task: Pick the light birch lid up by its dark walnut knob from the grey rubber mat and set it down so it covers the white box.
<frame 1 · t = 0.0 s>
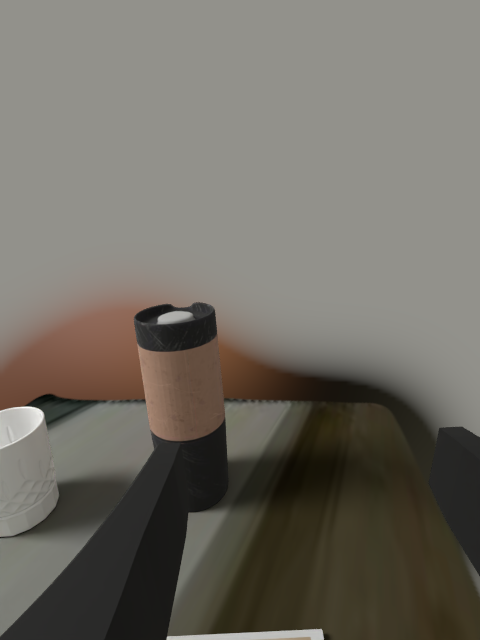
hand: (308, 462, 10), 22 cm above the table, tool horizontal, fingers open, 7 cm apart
travel mug: (196, 487, 38), on the table
white cup: (24, 511, 37), on the table
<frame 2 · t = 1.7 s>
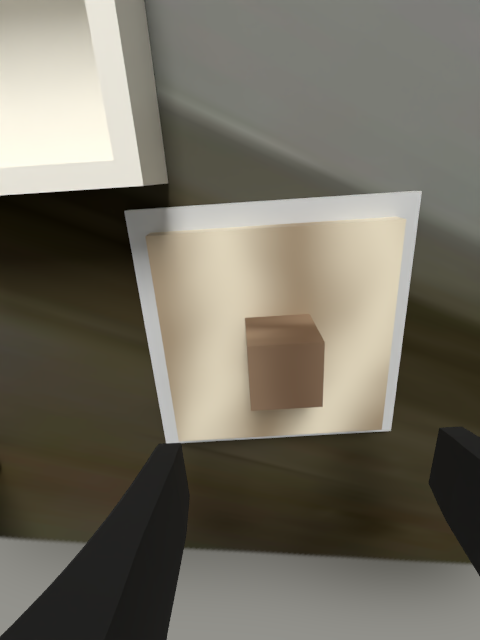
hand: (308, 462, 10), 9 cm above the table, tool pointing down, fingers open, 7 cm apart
mat: (274, 331, 18), on the table
lid: (275, 335, 18), resting on mat
white box: (38, 67, 14), on the table
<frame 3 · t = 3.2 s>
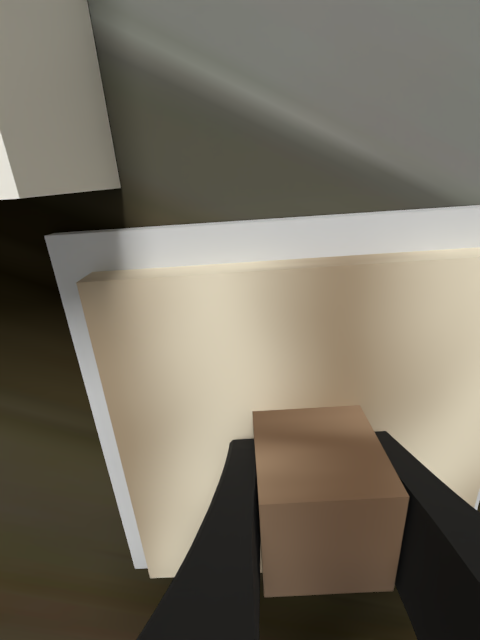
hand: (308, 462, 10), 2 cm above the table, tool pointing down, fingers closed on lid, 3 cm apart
mat: (297, 417, 12), on the table
lid: (299, 427, 11), resting on mat, touching gripper
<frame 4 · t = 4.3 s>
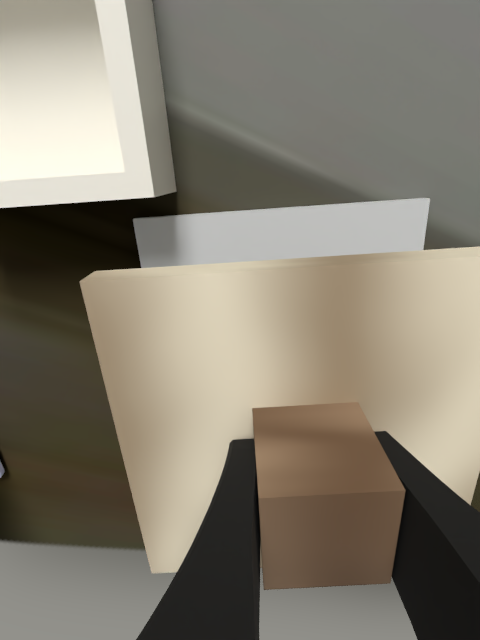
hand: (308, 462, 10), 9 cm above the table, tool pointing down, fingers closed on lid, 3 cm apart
mat: (281, 338, 18), on the table
lid: (298, 424, 11), point 7 cm above the table, touching gripper
white box: (47, 78, 14), on the table
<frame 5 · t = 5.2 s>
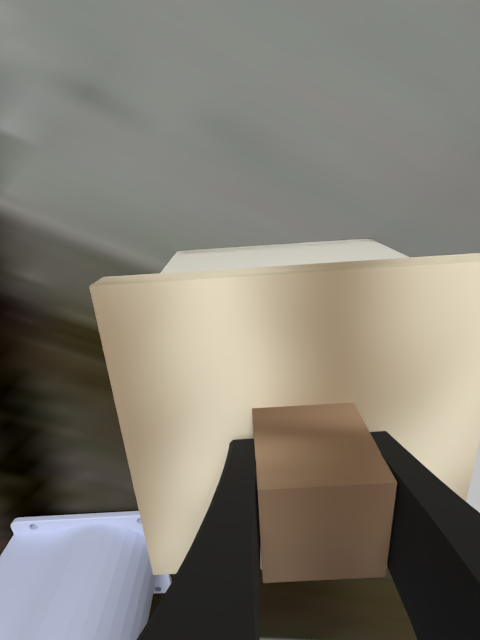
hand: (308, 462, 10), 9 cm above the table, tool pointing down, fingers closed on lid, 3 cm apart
mat: (418, 492, 22), on the table
lid: (297, 425, 12), point 7 cm above the table, touching gripper
white box: (275, 332, 18), on the table
when the fingers open (7 cm above the table, at t = 5.8 s): lid stays where it is, resting on white box.
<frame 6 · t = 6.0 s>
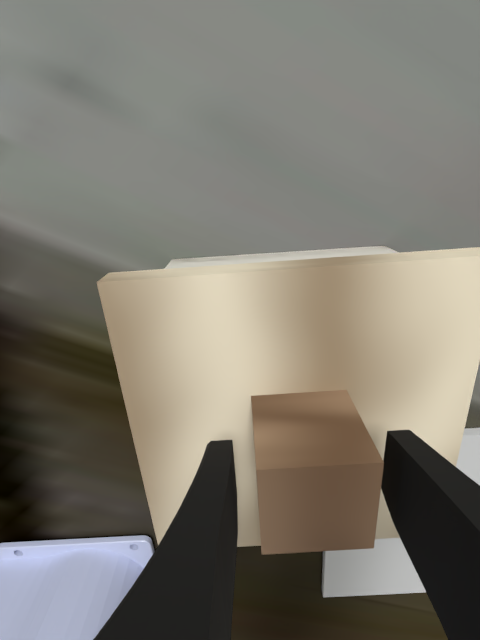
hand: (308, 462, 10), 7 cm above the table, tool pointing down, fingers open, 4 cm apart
mat: (432, 516, 21), on the table
lid: (294, 412, 12), point 4 cm above the table, touching white box
white box: (279, 347, 16), on the table
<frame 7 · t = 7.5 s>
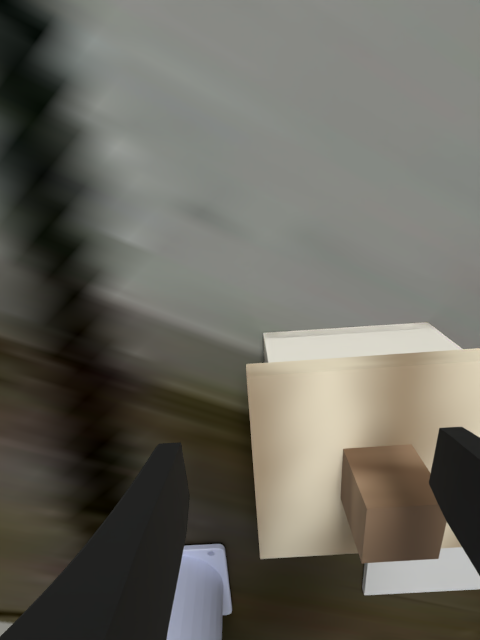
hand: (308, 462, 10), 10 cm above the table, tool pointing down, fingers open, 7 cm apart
mat: (457, 527, 25), on the table
lid: (367, 456, 17), point 4 cm above the table, touching white box
white box: (341, 396, 21), on the table
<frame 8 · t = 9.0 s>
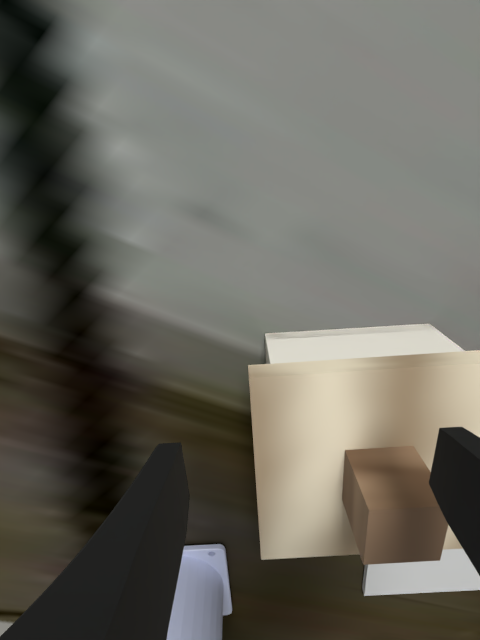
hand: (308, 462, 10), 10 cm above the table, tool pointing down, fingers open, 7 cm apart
mat: (458, 528, 25), on the table
lid: (368, 457, 17), point 4 cm above the table, touching white box
white box: (342, 397, 21), on the table
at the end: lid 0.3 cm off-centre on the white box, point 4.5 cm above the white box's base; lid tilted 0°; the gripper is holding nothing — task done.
